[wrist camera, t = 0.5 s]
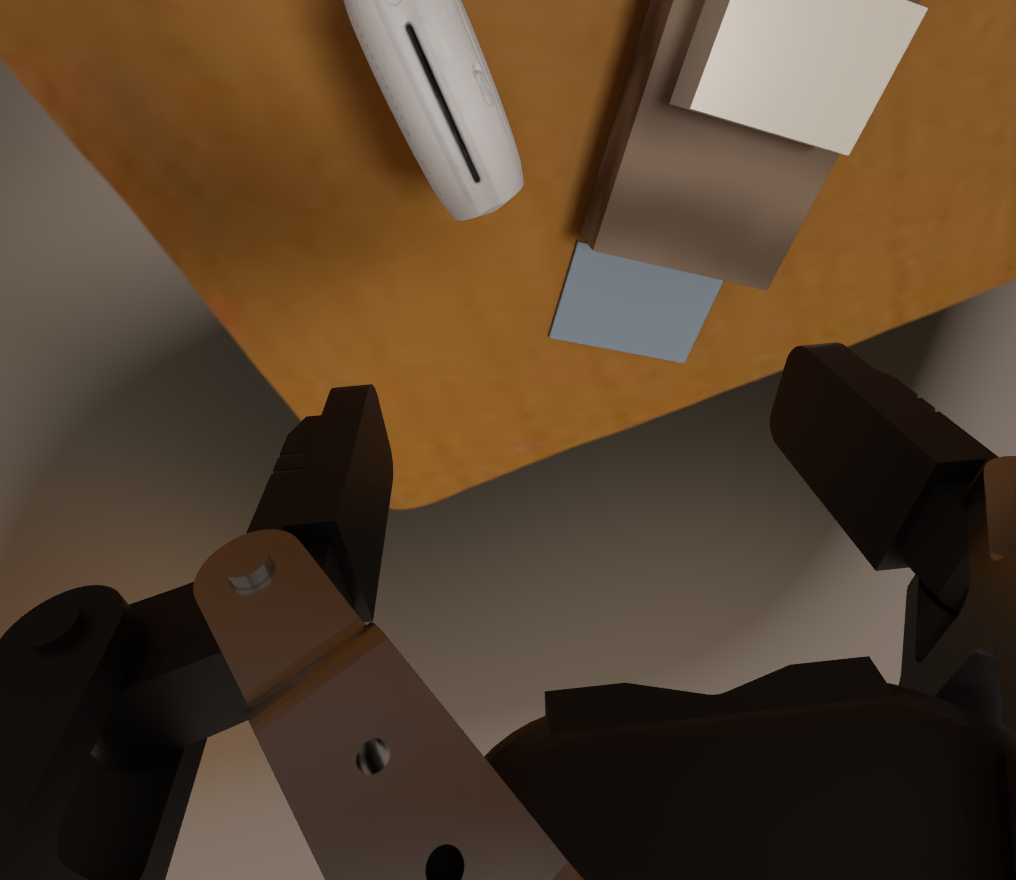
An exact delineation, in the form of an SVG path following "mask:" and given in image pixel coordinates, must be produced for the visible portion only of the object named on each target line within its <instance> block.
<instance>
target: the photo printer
mask: <svg viewBox="0 0 1016 880" xmlns="http://www.w3.org/2000/svg"><path fill="white" fill-rule="evenodd" d="M343 1H344V4H345V8H346V11H347V14H348V17H349V19H350V22H351V24H352V27H353V30H354V32H355V34H356V37H357V39H358V41H359V44H360V46H361V48H362V50H363V53H364V55H365V57H366V59H367V61H368V63H369V66H370V68H371V70H372V72H373V74H374V77H375V79H376V81H377V83H378V85H379V87H380V89H381V91H382V93H383V95H384V98H385V100H386V101H387V104H388V106H389V108H390V110H391V112H392V114H393V116H394V118H395V120H396V122H397V124H398V126H399V128H400V130H401V132H402V134H403V135H404V137H405V139H406V141H407V143H408V145H409V147H410V149H411V151H412V153H413V155H414V156H415V158H416V160H417V162H418V164H419V166H420V168H421V170H422V171H423V173H424V175H425V177H426V178H427V180H428V182H429V184H430V185H431V187H432V189H433V191H434V192H435V194H436V196H437V197H438V199H439V200H440V202H441V203H442V204H443V206H444V207H445V208H446V210H447V211H448V212H449V213H450V214H451V215H452V217H453V218H454V219H455V220H458V221H463V220H464V221H465V220H469V219H472V218H475V217H478V216H483V215H487V214H490V213H492V212H495V211H496V210H498V209H499V208H500V207H501V206H503V205H504V204H505V203H506V202H507V201H509V200H510V199H511V198H512V197H513V196H515V195H516V194H517V193H518V192H519V191H520V190H521V188H522V187H523V174H522V168H521V161H520V157H519V153H518V150H517V147H516V144H515V141H514V136H513V135H512V131H511V128H510V125H509V123H508V120H507V117H506V114H505V111H504V109H503V106H502V103H501V100H500V98H499V95H498V92H497V89H496V87H495V84H494V81H493V79H492V76H491V74H490V71H489V69H488V66H487V63H486V60H485V58H484V55H483V53H482V50H481V48H480V45H479V43H478V40H477V38H476V35H475V33H474V30H473V28H472V25H471V23H470V21H469V18H468V16H467V13H466V11H465V8H464V6H463V4H462V1H461V0H343Z"/></svg>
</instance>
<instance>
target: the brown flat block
mask: <svg viewBox="0 0 1016 880" xmlns="http://www.w3.org/2000/svg"><path fill="white" fill-rule="evenodd" d="M908 1H910V2H913V3H915V4H919V2H920V0H908ZM704 2H705V0H650V3H649V6H648V10H647V13H646V16H645V20H644V23H643V26H642V29H641V33H640V36H639V39H638V43H637V46H636V49H635V53H634V56H633V59H632V62H631V66H630V69H629V72H628V76H627V79H626V82H625V86H624V89H623V92H622V96H621V99H620V102H619V105H618V109H617V112H616V115H615V119H614V122H613V125H612V129H611V132H610V135H609V138H608V142H607V145H606V148H605V152H604V155H603V158H602V162H601V165H600V168H599V172H598V175H597V178H596V181H595V185H594V188H593V191H592V195H591V198H590V201H589V205H588V208H587V211H586V214H585V218H584V221H583V224H582V228H581V231H580V234H581V235H582V237H583V238H584V239H585V241H586V242H587V244H588V245H589V246H590V248H591V249H592V250H593V251H595V252H600V253H604V254H608V255H613V256H617V257H622V258H626V259H630V260H635V261H639V262H644V263H648V264H652V265H657V266H661V267H666V268H670V269H674V270H679V271H683V272H688V273H692V274H696V275H701V276H705V277H710V278H714V279H718V280H723V281H727V282H732V283H736V284H741V285H745V286H749V287H754V288H758V289H763V290H768V288H769V286H770V284H771V282H772V280H773V278H774V276H775V274H776V272H777V271H778V269H779V267H780V265H781V263H782V261H783V259H784V257H785V255H786V254H787V252H788V250H789V248H790V246H791V244H792V242H793V240H794V238H795V237H796V235H797V233H798V231H799V229H800V227H801V225H802V223H803V221H804V219H805V218H806V216H807V214H808V212H809V210H810V208H811V206H812V204H813V202H814V201H815V199H816V197H817V195H818V193H819V191H820V189H821V187H822V185H823V183H824V182H825V180H826V178H827V176H828V174H829V172H830V170H831V168H832V166H833V165H834V163H835V161H836V159H837V157H838V155H839V153H836V152H832V151H828V150H824V149H820V148H816V147H813V146H809V145H806V144H803V143H799V142H796V141H792V140H789V139H786V138H782V137H779V136H776V135H772V134H769V133H765V132H762V131H759V130H755V129H752V128H749V127H745V126H742V125H738V124H735V123H732V122H728V121H725V120H722V119H718V118H715V117H711V116H708V115H705V114H701V113H698V112H695V111H691V110H688V109H685V108H681V107H678V106H674V105H671V104H669V103H670V100H671V97H672V94H673V91H674V89H675V86H676V83H677V80H678V77H679V74H680V71H681V68H682V66H683V63H684V60H685V57H686V54H687V51H688V48H689V46H690V43H691V40H692V37H693V34H694V31H695V28H696V25H697V23H698V20H699V17H700V14H701V11H702V8H703V5H704Z"/></svg>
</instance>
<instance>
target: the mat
mask: <svg viewBox="0 0 1016 880" xmlns="http://www.w3.org/2000/svg"><path fill="white" fill-rule="evenodd" d="M722 283H723V280H718V279H714V278H710V277H705V276H701V275H696V274H692V273H688V272H683V271H679V270H674V269H670V268H666V267H661V266H657V265H652V264H648V263H644V262H639V261H635V260H630V259H626V258H622V257H617V256H613V255H608V254H604V253H600V252H595V251H593V250H592V249H591V248H590V246H589V245H588V244H587V243H586V242H582V241H577V244H576V248H575V251H574V254H573V257H572V261H571V264H570V267H569V271H568V274H567V277H566V281H565V284H564V287H563V290H562V294H561V297H560V300H559V304H558V307H557V310H556V314H555V317H554V320H553V324H552V327H551V330H550V333H549V338H553V339H559V340H564V341H569V342H574V343H580V344H585V345H590V346H596V347H601V348H606V349H612V350H617V351H622V352H628V353H633V354H638V355H644V356H649V357H654V358H660V359H665V360H670V361H675V362H681V363H685V361H686V358H687V356H688V354H689V352H690V350H691V348H692V346H693V344H694V342H695V340H696V337H697V335H698V333H699V331H700V329H701V327H702V325H703V323H704V321H705V318H706V316H707V314H708V312H709V310H710V308H711V306H712V304H713V302H714V300H715V297H716V295H717V293H718V291H719V289H720V287H721V285H722Z"/></svg>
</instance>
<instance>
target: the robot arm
mask: <svg viewBox="0 0 1016 880" xmlns="http://www.w3.org/2000/svg"><path fill="white" fill-rule="evenodd" d="M770 429H771V434H772V437H773V439H774V442H775V443H776V445H777V446H778V447H779V449H780V450H781V451H782V452H783V454H784V455H785V456H786V458H787V459H788V460H789V461H790V463H791V464H792V465H793V466H794V468H795V469H796V470H797V471H798V473H799V474H800V475H801V477H802V478H803V479H804V480H805V482H806V483H807V484H808V485H809V487H810V488H811V489H812V491H813V492H814V493H815V494H816V496H817V497H818V498H819V499H820V501H821V502H822V503H823V504H824V506H825V507H826V508H827V510H828V511H829V512H830V513H831V515H832V516H833V517H834V518H835V520H836V521H837V522H838V523H839V525H840V526H841V527H842V528H843V530H844V531H845V532H846V534H847V535H848V536H849V537H850V539H851V540H852V541H853V542H854V544H855V545H856V546H857V548H858V549H859V550H860V551H861V553H862V554H863V555H864V556H865V558H866V559H867V560H868V561H869V563H870V564H871V565H872V567H873V568H874V569H875V570H876V571H879V570H889V569H897V568H907V567H910V568H911V570H912V571H913V572H914V573H915V575H914V577H913V579H912V580H911V582H910V584H909V585H908V588H907V595H906V609H905V624H904V638H903V653H902V667H901V668H902V669H901V676H900V681H899V685H893V684H889V683H886V681H885V680H884V678H883V677H882V675H881V674H880V672H879V671H878V669H877V668H876V666H875V665H874V663H873V662H872V660H871V659H870V657H858V658H849V659H839V660H830V661H821V662H812V663H803V664H793V665H789V666H786V667H784V668H782V669H780V670H777V671H775V672H772V673H770V674H767V675H765V676H763V677H760V678H758V679H756V680H753V681H751V682H749V683H746V684H744V685H742V686H740V687H737V688H735V689H732V690H730V691H728V692H725V693H722V694H717V695H707V694H699V693H693V692H686V691H679V690H672V689H665V688H658V687H651V686H644V685H637V684H630V683H619V684H610V685H600V686H591V687H582V688H573V689H563V690H555V691H546V692H545V714H546V715H545V716H544V717H541V718H539V719H537V720H535V721H532V722H530V723H528V724H526V725H525V726H523V727H521V728H520V729H518V730H516V731H514V732H513V733H511V734H510V735H509V736H507V737H506V738H505V739H503V740H502V741H501V742H500V743H498V744H497V745H496V746H495V747H493V749H491V750H490V751H489V753H487V754H486V755H485V756H483V755H482V754H481V752H480V751H479V750H478V749H477V748H476V746H475V745H474V744H473V743H472V742H471V740H470V739H469V738H468V736H467V735H466V734H465V733H464V731H463V730H462V729H461V728H460V727H459V725H458V724H457V723H456V721H455V720H454V719H453V718H452V716H451V715H450V714H449V713H448V711H447V710H446V709H445V708H444V707H443V705H442V704H441V703H440V702H439V700H438V699H437V698H436V697H435V695H434V694H433V693H432V692H431V690H430V689H429V688H428V687H427V685H426V684H425V683H424V682H423V680H422V679H421V678H420V677H419V675H418V674H417V673H416V672H415V670H414V669H413V668H412V667H411V666H410V664H409V663H408V662H407V661H406V659H405V658H404V657H403V656H402V654H401V653H400V652H399V651H398V649H397V648H396V647H395V646H394V644H393V643H392V642H391V641H390V639H389V638H388V637H387V636H386V635H385V633H384V632H383V631H382V630H381V629H380V628H379V627H378V626H377V625H376V624H374V623H372V622H371V623H369V624H368V625H366V624H365V623H364V622H370V621H373V617H374V610H375V603H376V596H377V589H378V582H379V575H380V567H381V561H382V553H383V546H384V539H385V532H386V524H387V518H388V510H389V504H390V497H391V490H392V483H393V461H392V453H391V448H390V444H389V440H388V436H387V432H386V428H385V424H384V420H383V416H382V412H381V408H380V404H379V400H378V396H377V393H376V390H375V388H374V386H373V385H372V384H370V385H359V386H348V387H337V388H332V389H331V390H330V393H329V395H328V398H327V401H326V404H325V407H324V410H323V412H322V415H320V416H309V417H306V418H305V419H303V420H302V421H301V423H299V424H298V426H296V427H295V428H294V429H293V430H292V431H291V432H290V433H289V434H288V436H287V438H286V441H285V443H284V445H283V448H282V450H281V452H280V458H278V460H277V462H276V464H275V467H274V469H273V474H272V475H271V477H270V478H269V481H268V483H267V485H266V488H265V490H264V493H263V495H262V497H261V500H260V502H259V504H258V507H257V509H256V512H255V514H254V516H253V519H252V521H251V523H250V526H249V528H248V530H247V533H246V534H244V535H242V536H239V537H237V538H235V539H233V540H231V541H229V542H228V543H226V544H224V545H223V546H221V547H220V548H219V549H217V550H216V551H215V552H214V553H213V554H212V555H211V556H210V557H208V559H207V560H206V561H205V562H204V563H203V565H202V566H201V568H200V569H199V571H198V573H197V575H196V577H195V580H194V582H192V583H189V584H187V585H184V586H182V587H179V588H176V589H173V590H170V591H167V592H164V593H161V594H158V595H156V596H153V597H150V598H147V599H144V600H141V601H139V602H135V603H132V604H130V605H129V604H128V603H127V602H126V601H125V600H124V598H123V597H122V596H121V595H120V594H119V593H118V591H116V590H115V589H113V588H111V587H107V586H102V585H91V586H84V587H79V588H75V589H72V590H69V591H66V592H63V593H61V594H59V595H56V596H54V597H52V598H50V599H48V600H46V601H44V602H43V603H41V604H39V605H38V606H36V607H35V608H33V609H32V610H30V611H29V612H28V613H27V614H25V615H24V616H22V617H21V618H20V619H19V620H18V621H17V622H15V623H14V624H13V625H12V626H11V627H10V628H9V629H8V630H7V631H6V632H5V634H4V635H3V636H2V637H1V639H0V880H165V878H166V875H167V872H168V868H169V865H170V862H171V858H172V855H173V851H174V848H175V845H176V841H177V838H178V835H179V831H180V828H181V825H182V821H183V818H184V815H185V811H186V807H187V804H188V801H189V798H190V794H191V791H192V788H193V784H194V781H195V777H196V774H197V770H198V767H199V764H200V761H201V757H202V754H203V750H204V747H205V744H206V741H207V737H210V736H212V735H214V734H217V733H219V732H221V731H224V730H226V729H228V728H231V727H233V726H235V725H238V724H240V723H242V722H244V721H247V720H249V723H250V725H251V727H252V729H253V731H254V734H255V736H256V738H257V740H258V742H259V744H260V746H261V748H262V750H263V752H264V754H265V757H266V758H267V760H268V763H269V765H270V767H271V769H272V771H273V773H274V775H275V777H276V779H277V781H278V783H279V785H280V788H281V790H282V792H283V794H284V796H285V798H286V800H287V802H288V804H289V806H290V808H291V810H292V812H293V814H294V817H295V819H296V821H297V823H298V825H299V827H300V829H301V831H302V833H303V835H304V837H305V839H306V841H307V843H308V845H309V848H310V850H311V852H312V854H313V856H314V857H315V860H316V862H317V864H318V866H319V868H320V870H321V872H322V874H323V876H324V878H325V880H1016V456H1004V457H998V456H997V455H995V454H994V453H992V452H991V451H990V450H989V449H987V448H986V447H985V446H983V445H982V444H981V443H980V442H978V441H977V440H976V439H974V438H973V437H972V436H970V435H969V434H968V433H967V432H965V431H964V430H963V429H961V428H960V427H959V426H958V425H956V424H955V423H953V422H952V421H951V420H950V419H949V418H947V417H946V416H945V415H943V414H942V413H941V412H935V408H934V407H933V406H932V405H930V404H929V403H928V402H926V401H925V400H924V399H923V398H917V394H916V393H915V392H914V391H912V390H911V389H910V388H908V387H907V386H906V385H904V384H903V383H902V382H901V381H899V380H898V379H897V378H895V377H892V376H890V375H888V374H886V373H883V372H881V371H879V370H877V369H875V368H873V367H871V366H870V365H869V364H867V363H866V362H865V361H864V360H862V359H861V358H860V357H859V356H857V355H856V354H855V353H854V352H852V351H851V350H850V349H848V348H847V347H846V346H845V345H843V344H841V343H826V344H815V345H804V346H797V347H795V348H794V349H793V350H792V351H791V352H790V353H789V355H788V358H787V360H786V364H785V367H784V370H783V374H782V377H781V381H780V384H779V387H778V391H777V394H776V398H775V401H774V404H773V408H772V411H771V415H770Z"/></svg>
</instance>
